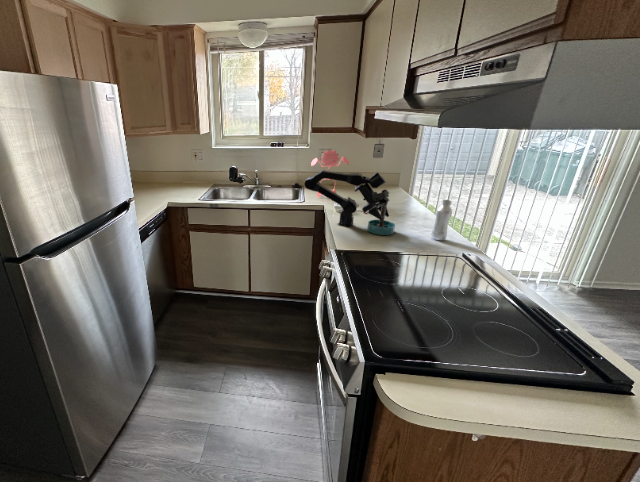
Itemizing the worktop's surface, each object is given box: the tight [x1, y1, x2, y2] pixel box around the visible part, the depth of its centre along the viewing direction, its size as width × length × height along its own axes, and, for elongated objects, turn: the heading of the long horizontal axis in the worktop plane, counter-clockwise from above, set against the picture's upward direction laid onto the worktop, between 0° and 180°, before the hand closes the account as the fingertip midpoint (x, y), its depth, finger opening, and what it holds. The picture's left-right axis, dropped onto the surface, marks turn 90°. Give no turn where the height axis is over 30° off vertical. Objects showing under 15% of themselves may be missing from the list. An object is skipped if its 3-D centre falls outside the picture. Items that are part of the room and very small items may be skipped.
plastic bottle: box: [430, 199, 453, 241], centre depth 156 cm, size 6×7×20 cm
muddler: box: [377, 205, 386, 228], centre depth 168 cm, size 4×4×14 cm
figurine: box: [310, 149, 350, 201], centre depth 227 cm, size 15×26×35 cm, turn 76°
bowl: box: [366, 219, 396, 236], centre depth 170 cm, size 13×13×4 cm
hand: (385, 218), depth 167 cm, fingers open, 7 cm apart
